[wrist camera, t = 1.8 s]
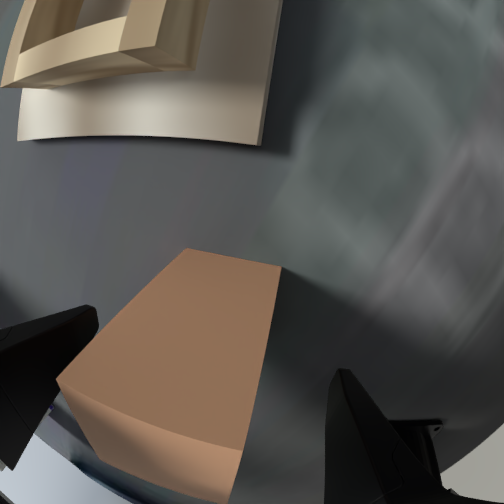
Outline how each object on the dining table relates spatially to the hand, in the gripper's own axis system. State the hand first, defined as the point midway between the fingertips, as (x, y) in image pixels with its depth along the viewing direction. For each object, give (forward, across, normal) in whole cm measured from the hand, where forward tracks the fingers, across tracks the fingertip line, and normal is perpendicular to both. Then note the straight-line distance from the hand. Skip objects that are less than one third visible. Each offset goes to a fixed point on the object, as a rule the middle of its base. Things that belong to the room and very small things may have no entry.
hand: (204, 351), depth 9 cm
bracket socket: (+3, +6, -13) cm, 15 cm away
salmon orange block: (+4, 0, 0) cm, 4 cm away
